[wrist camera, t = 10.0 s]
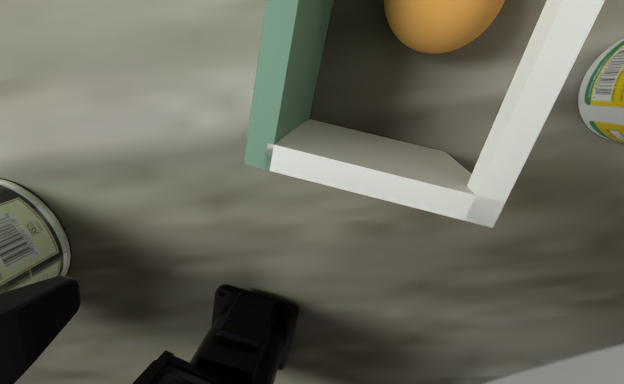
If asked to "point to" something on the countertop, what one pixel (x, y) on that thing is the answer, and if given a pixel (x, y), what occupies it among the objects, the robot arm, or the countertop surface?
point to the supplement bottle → (605, 94)
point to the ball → (440, 22)
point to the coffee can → (29, 239)
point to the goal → (392, 153)
